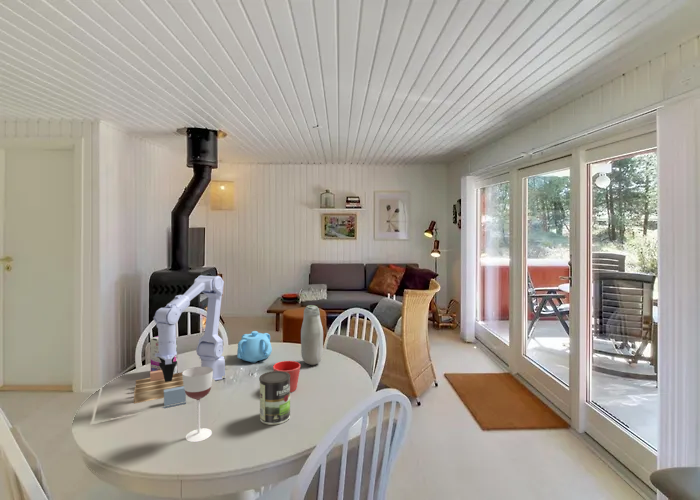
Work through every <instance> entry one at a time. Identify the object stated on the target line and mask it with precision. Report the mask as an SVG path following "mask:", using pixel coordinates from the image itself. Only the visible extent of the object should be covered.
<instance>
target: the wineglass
mask: <svg viewBox="0 0 700 500" xmlns="http://www.w3.org/2000/svg"><path fill="white" fill-rule="evenodd" d="M182 372H183V373H182V376H183V385H184V389H185V393H186V396H187V397H189V398H190V399H193V400H196V410H197V411H196V412H197V413H196V414H197V415H196V417H197V418H196V419H197V421H196V422H197V426H196V427H197V428H196V429H194V430H191V431H190V432H188V433H187V434H186V435H185V440H186V441H188V442H191V443H194V442H202V441H204V440H207V439H208V438H209V437H211V436H212V434H213V432H212V430H211V429H210V428H206V427H205V428H204V427H203V428H201V402H200V401H201V399H203V398H205V397H206V396H207V395H208V394H210V392H211V389H212V385H213V379H212V378H213V369H212V368H210V367H201V366H196V367H191V368H188V369H185V370H184V371H182Z"/></svg>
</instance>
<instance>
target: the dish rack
mask: <svg viewBox="0 0 700 500" xmlns="http://www.w3.org/2000/svg"><path fill="white" fill-rule="evenodd" d="M183 372H184V371H181V372H178V373H175V374H173V378H172V381H169V382H165V380H164V379H163V380H157V381H151V382H150V377H147V378H146V377H145V378H140V379H136V380H135V386H134V390H133V391H134V393H133V404H139V403H144V402H150V401H154V400H160V399H164V390H166V389H171V388H176V387H182V386H184V385H183V376H182V373H183Z"/></svg>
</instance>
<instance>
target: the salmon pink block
mask: <svg viewBox="0 0 700 500" xmlns="http://www.w3.org/2000/svg"><path fill="white" fill-rule="evenodd" d="M149 378H150V382H151V381H157V380H163V379H164V375H163V371H162V370H158V371H152V372H151V371H149Z"/></svg>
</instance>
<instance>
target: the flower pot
mask: <svg viewBox="0 0 700 500" xmlns="http://www.w3.org/2000/svg"><path fill="white" fill-rule="evenodd" d="M272 368H273V370H272V371H283V372H287V373H289V374H290V394H291V393H294V392H295V391H296V390H297V388H298V383H299V376H300V371H301V363H299V362H298V361H294V360H283V361H279V362H276V363H274V365H273V367H272Z"/></svg>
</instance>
